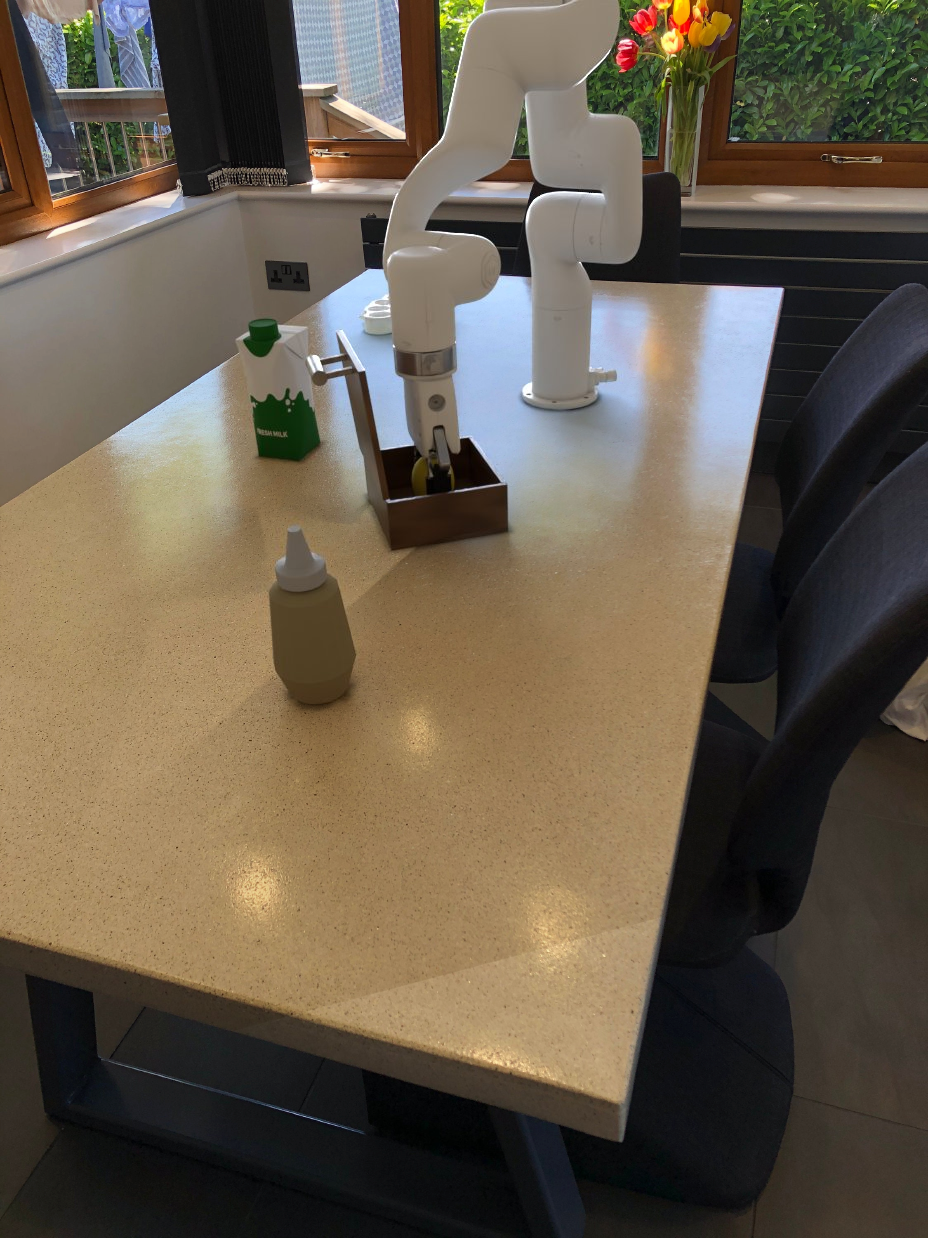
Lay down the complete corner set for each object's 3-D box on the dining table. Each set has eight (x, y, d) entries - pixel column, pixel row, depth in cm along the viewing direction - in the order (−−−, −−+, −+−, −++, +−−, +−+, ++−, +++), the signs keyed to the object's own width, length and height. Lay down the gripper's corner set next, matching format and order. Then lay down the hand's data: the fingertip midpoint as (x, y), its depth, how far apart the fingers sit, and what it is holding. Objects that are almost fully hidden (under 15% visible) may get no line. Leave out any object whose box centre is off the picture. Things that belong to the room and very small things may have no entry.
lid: (341, 328, 114) (297, 338, 113) (365, 370, 101) (315, 381, 100) (365, 447, 123) (324, 456, 123) (389, 499, 110) (344, 510, 110)
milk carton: (250, 458, 139) (226, 325, 128) (279, 435, 146) (258, 306, 135) (302, 464, 136) (282, 329, 125) (329, 440, 143) (312, 310, 132)
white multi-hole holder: (418, 335, 186) (349, 333, 189) (439, 310, 200) (375, 308, 203) (417, 319, 184) (347, 317, 187) (438, 294, 198) (373, 292, 201)
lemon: (450, 519, 119) (447, 462, 115) (409, 517, 120) (404, 460, 116) (459, 500, 124) (457, 444, 119) (419, 497, 125) (415, 442, 120)
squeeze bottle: (282, 666, 95) (253, 511, 85) (360, 660, 96) (340, 504, 86) (275, 716, 89) (243, 555, 79) (359, 709, 89) (338, 547, 79)
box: (473, 478, 130) (471, 435, 127) (508, 531, 117) (507, 484, 114) (367, 495, 127) (362, 450, 124) (391, 551, 114) (386, 503, 111)
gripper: (475, 377, 104) (479, 518, 115) (438, 333, 118) (445, 463, 128) (410, 385, 103) (421, 528, 113) (380, 340, 117) (392, 471, 127)
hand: (433, 492), depth 121 cm, fingers closed on lemon, 5 cm apart
